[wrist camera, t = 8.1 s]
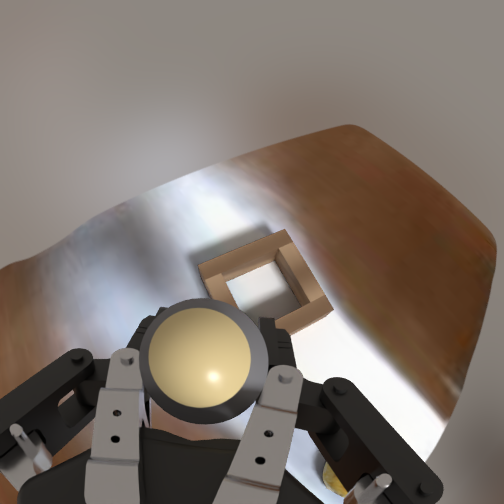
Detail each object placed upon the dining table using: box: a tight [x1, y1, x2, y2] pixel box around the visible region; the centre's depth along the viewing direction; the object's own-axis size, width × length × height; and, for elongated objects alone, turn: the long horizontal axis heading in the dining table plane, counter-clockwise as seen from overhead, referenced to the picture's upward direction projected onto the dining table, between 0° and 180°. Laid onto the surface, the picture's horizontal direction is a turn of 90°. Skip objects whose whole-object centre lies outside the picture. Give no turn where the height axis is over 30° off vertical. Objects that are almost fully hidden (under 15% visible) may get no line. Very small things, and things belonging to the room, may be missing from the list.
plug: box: [139, 298, 268, 424], centre depth 12 cm, size 4×4×10 cm
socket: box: [198, 229, 334, 336], centre depth 30 cm, size 10×10×3 cm
